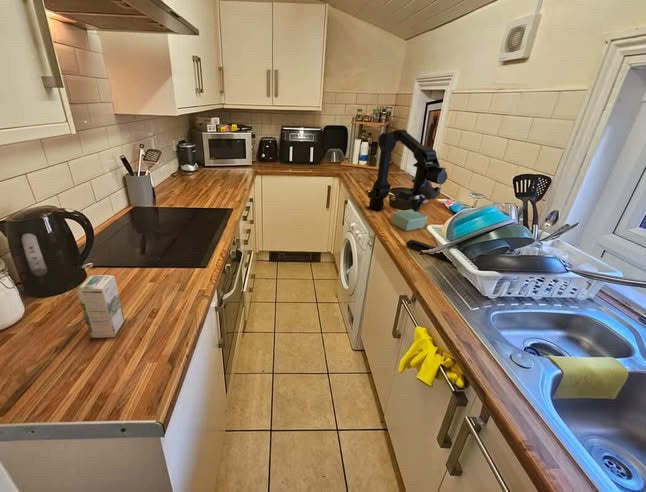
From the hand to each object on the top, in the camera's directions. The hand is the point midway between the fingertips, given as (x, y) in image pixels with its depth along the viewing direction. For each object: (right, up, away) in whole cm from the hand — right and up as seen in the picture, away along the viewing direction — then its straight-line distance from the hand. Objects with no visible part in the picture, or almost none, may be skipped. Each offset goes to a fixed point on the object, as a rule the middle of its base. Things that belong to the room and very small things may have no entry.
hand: (415, 211), depth 137 cm
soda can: (+19, +7, +37) cm, 42 cm away
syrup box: (-102, -32, -62) cm, 123 cm away
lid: (-1, -2, +3) cm, 4 cm away
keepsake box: (-1, -6, +5) cm, 8 cm away
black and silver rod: (-2, -17, -20) cm, 26 cm away
